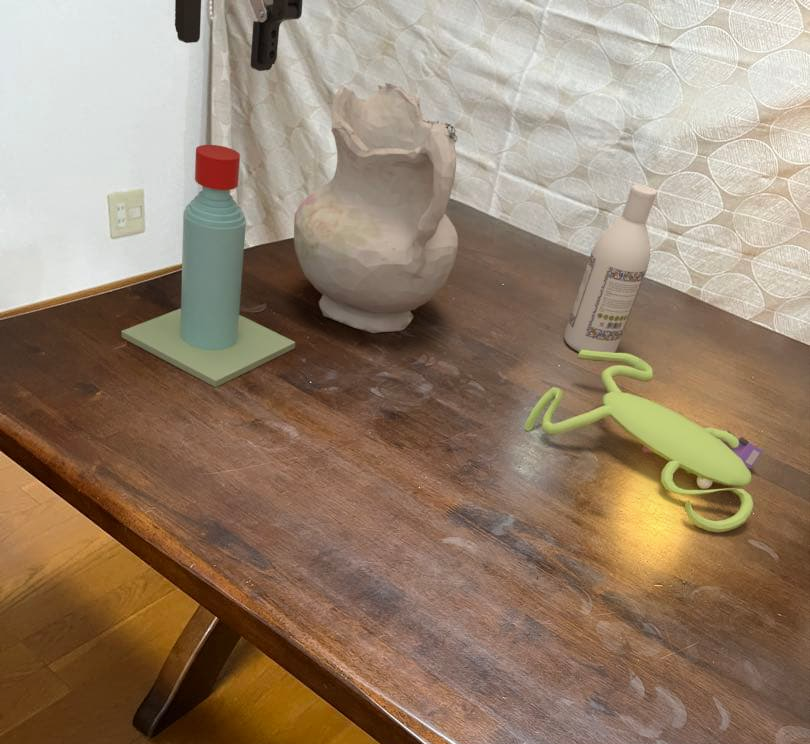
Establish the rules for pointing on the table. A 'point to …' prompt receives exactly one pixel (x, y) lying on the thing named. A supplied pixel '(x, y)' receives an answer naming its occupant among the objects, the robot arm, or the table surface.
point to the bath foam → (612, 278)
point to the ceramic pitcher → (380, 212)
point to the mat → (204, 363)
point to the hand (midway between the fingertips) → (224, 55)
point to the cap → (217, 167)
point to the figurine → (664, 437)
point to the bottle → (212, 270)
